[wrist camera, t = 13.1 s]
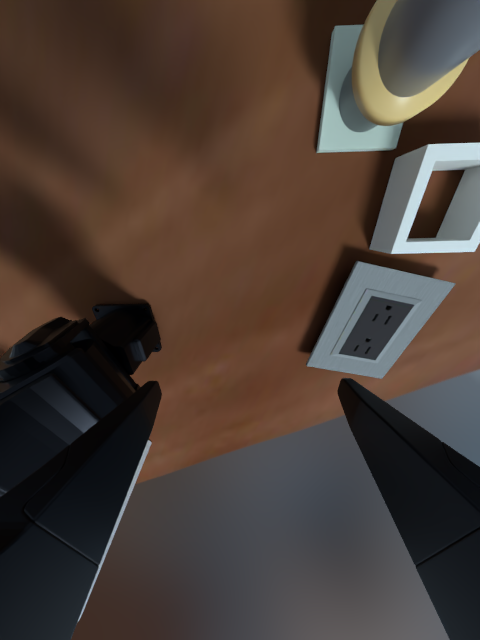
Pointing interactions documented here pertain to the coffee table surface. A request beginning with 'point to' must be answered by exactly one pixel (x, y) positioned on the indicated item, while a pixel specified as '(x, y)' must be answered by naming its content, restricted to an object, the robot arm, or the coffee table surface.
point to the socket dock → (406, 194)
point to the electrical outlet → (375, 319)
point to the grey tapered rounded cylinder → (407, 59)
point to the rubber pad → (331, 125)
